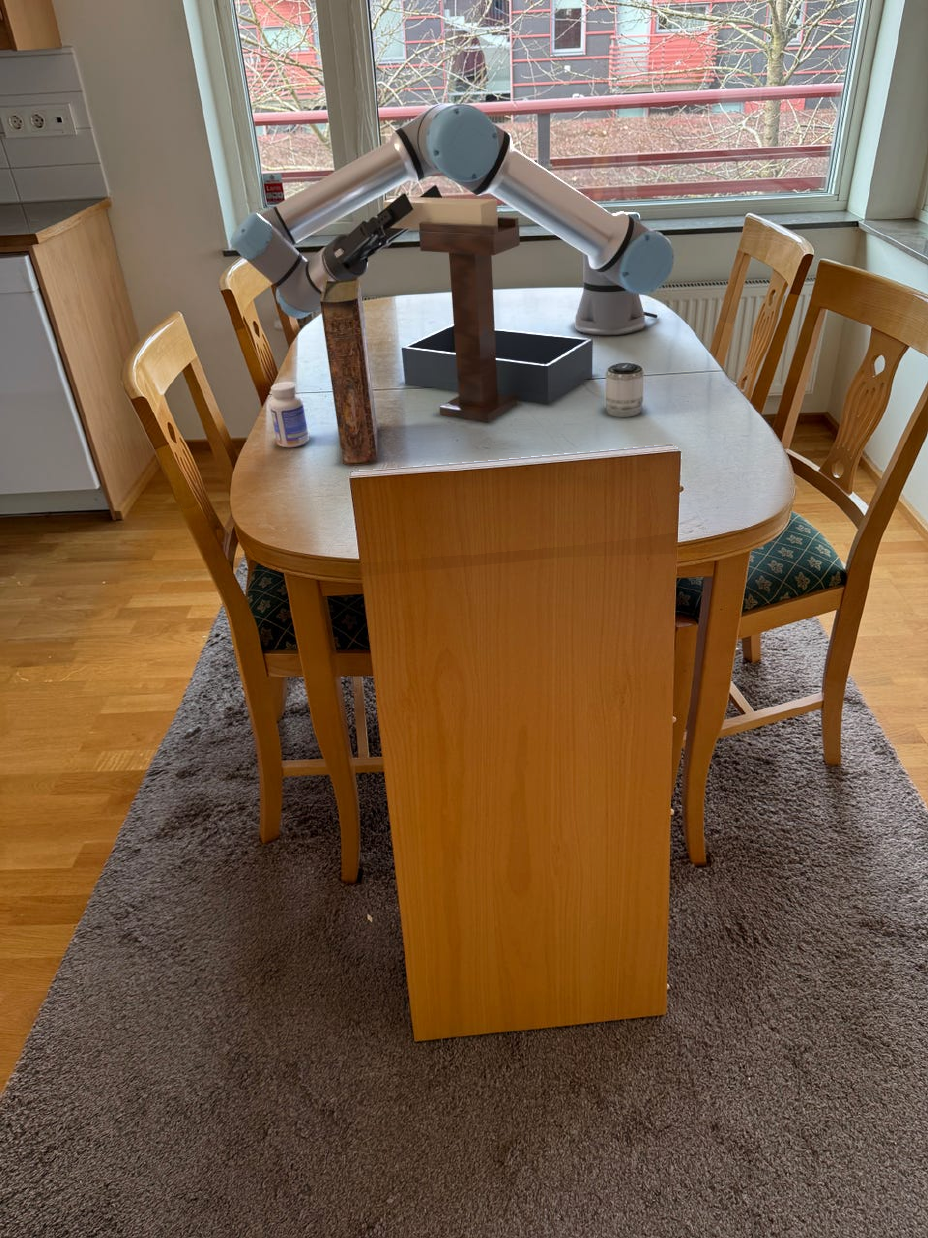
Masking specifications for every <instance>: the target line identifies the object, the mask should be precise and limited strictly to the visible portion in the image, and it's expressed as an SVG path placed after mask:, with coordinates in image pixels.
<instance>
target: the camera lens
mask: <svg viewBox="0 0 928 1238" xmlns="http://www.w3.org/2000/svg"><path fill="white" fill-rule="evenodd" d="M644 377H645V370H644V369H643V367H642V366H641V365H639V364H636V363H633V362H618V363H615V364H613V365H610V366H609V367H608V368H607V370H606V371H605V407H606V412H607V413H608V415H610V416H613V417H618V418H628V417H634V416H637V415H639V414H640V413H641V412H642V409H643V402H644V379H645V378H644Z"/></svg>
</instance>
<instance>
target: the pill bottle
mask: <svg viewBox="0 0 928 1238" xmlns="http://www.w3.org/2000/svg"><path fill="white" fill-rule="evenodd" d="M270 392H271V393H270V394H271V396H272V397H273V398H272V399H271V400H270V402H269V409H270V413H271V418H272V424H273V429H274V435H275V440H276V443H277V445H278V446H280V447H283V448H295V447H300V446H303V445H305V444H307V443H308V441H310V436H309V431H308V430H309V429H308V423H307V420H306V414H305V408H304V407H305V406H304V402H303V399H302V397H301V396H300V395H298V394H297V388H296V384H295V382H291V381H289V382H288V381H284V382H278V383H275V384H273V385H272V386H270Z"/></svg>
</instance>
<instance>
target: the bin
mask: <svg viewBox="0 0 928 1238" xmlns="http://www.w3.org/2000/svg"><path fill="white" fill-rule="evenodd" d="M593 344H594V339H593V338H584V337H575V336H566V335H556V334H547V333H539V332H530V331H529V332H528V331H519V330H510V329H502V328H501V329H500V328H495V345H496V368H497V390H498V394H504V395H510V396H517V402H526V403H531V404H538V405H545V406H550V405H551V404H552V403H555V401H557V400H559V399H560V398H562V397H563V396H565V395H566V394H568V393H569V392H571V391H572V390H574V389H575V388H577V387H579V386H580V385H581V384H583V383H584V382H585V381H587V380H589V379H590V378H592V377H593V357H594V356H593V353H594V352H593V351H594V349H593V347H594V345H593ZM401 356H402V366H403V377H404V384H405V385H411V386H417V387H423V388H431V389H437V390H444V391H451V392H452V391H453V392H457V393H458V379H457V365H456V350H455V335H454V323H453V324H450V325H447V326H445V327H443V328H442V329H439V330H437V331H435V332H433V333H431V334H428V335H426V336H424V337H422V338H420V339H417V340H415V341H413V342H411V343H408V344H407V345H404V346H403V347H401Z"/></svg>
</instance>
